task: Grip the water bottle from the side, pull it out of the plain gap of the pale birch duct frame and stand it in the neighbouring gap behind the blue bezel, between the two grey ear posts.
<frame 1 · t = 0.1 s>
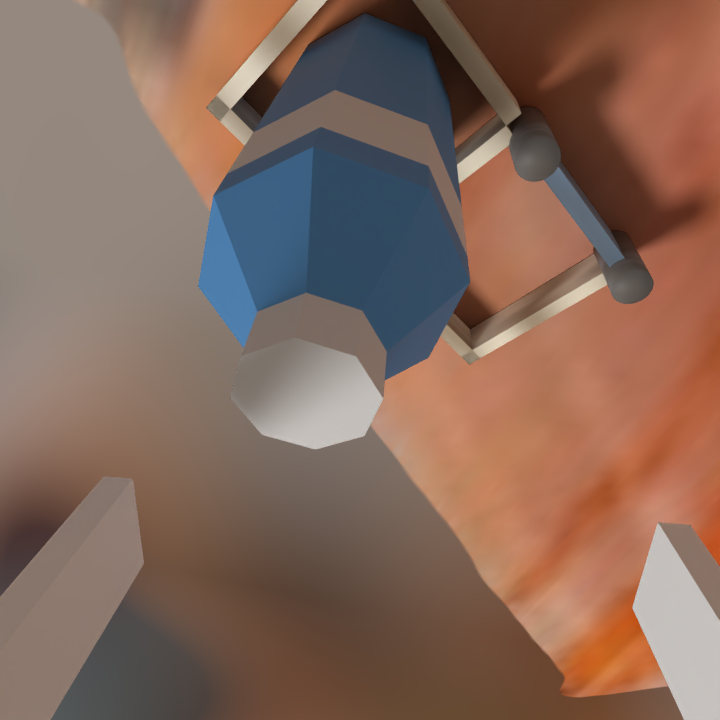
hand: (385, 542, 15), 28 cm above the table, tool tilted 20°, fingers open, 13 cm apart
duct frame: (433, 176, 37), on the table
water bottle: (370, 102, 34), resting in duct frame
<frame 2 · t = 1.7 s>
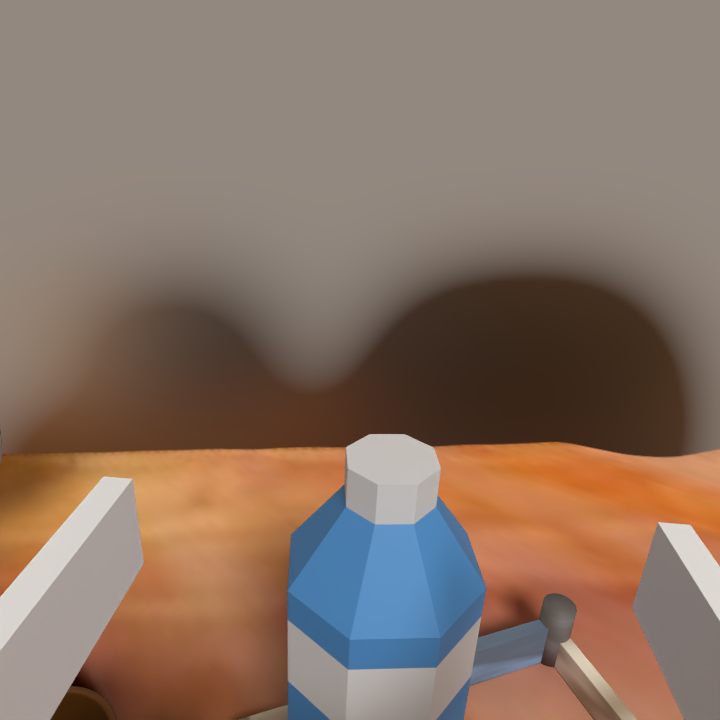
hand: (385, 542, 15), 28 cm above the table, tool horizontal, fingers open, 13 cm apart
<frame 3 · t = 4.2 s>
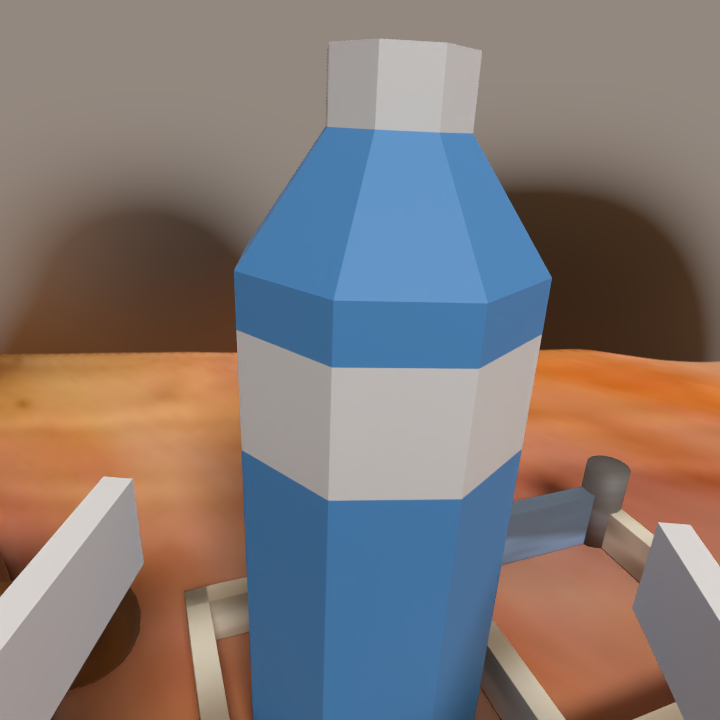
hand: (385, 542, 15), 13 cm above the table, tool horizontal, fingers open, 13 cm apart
duct frame: (480, 668, 27), on the table
water bottle: (360, 712, 25), resting in duct frame
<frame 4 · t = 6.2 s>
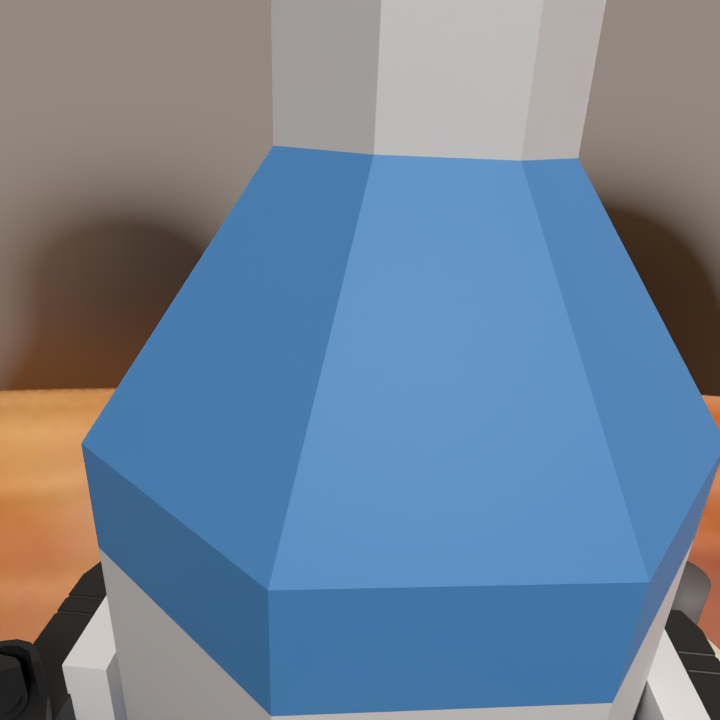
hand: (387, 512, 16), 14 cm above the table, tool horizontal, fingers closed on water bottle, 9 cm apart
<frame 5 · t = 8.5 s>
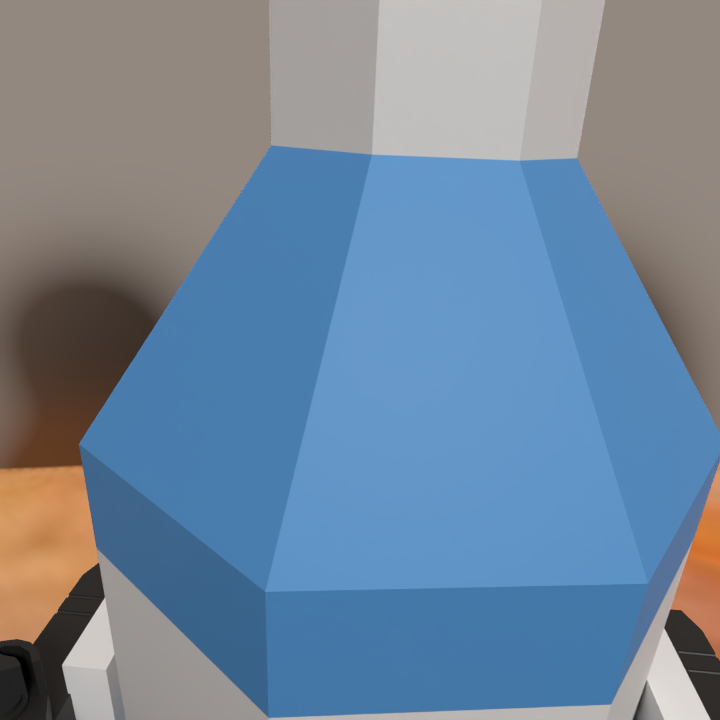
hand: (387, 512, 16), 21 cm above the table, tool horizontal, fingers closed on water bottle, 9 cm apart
when the fingers open (15 cm above the table, at t = 11.0 s): water bottle drops 1 cm, resting in duct frame.
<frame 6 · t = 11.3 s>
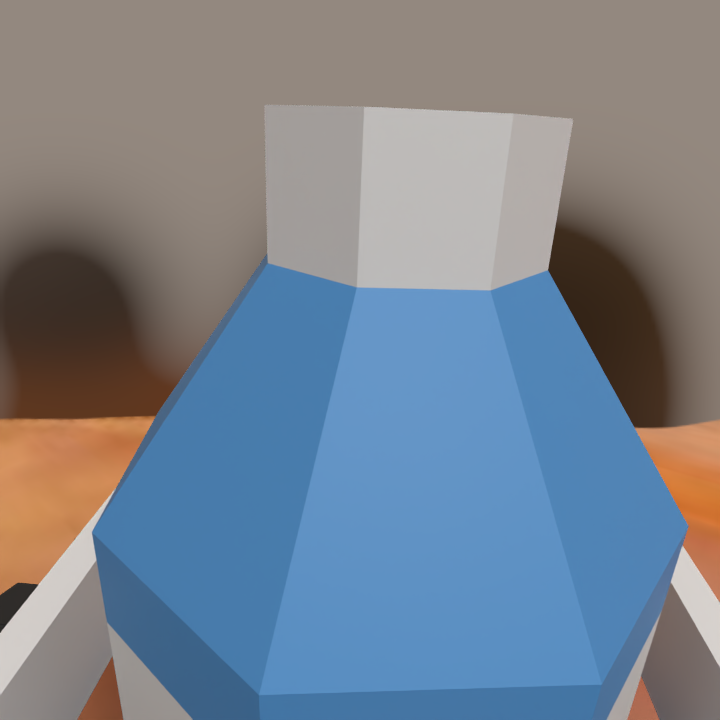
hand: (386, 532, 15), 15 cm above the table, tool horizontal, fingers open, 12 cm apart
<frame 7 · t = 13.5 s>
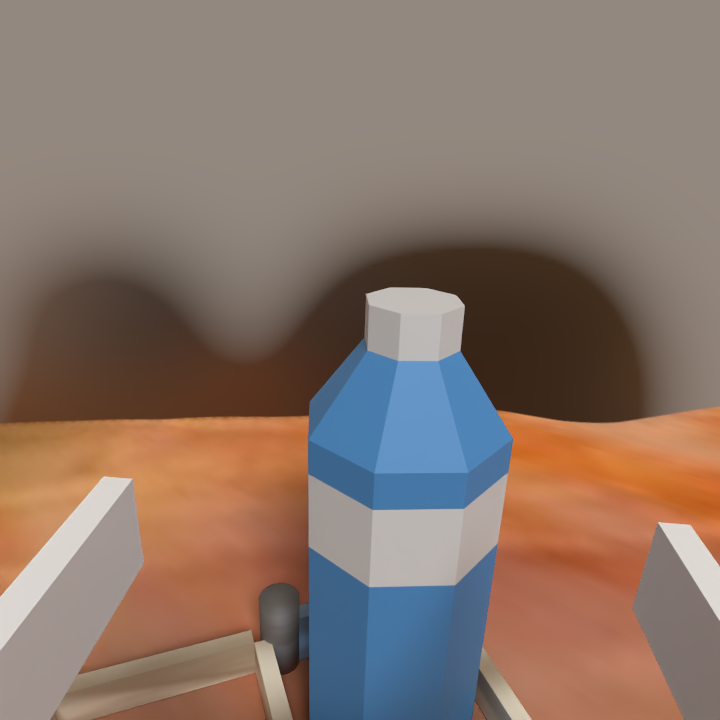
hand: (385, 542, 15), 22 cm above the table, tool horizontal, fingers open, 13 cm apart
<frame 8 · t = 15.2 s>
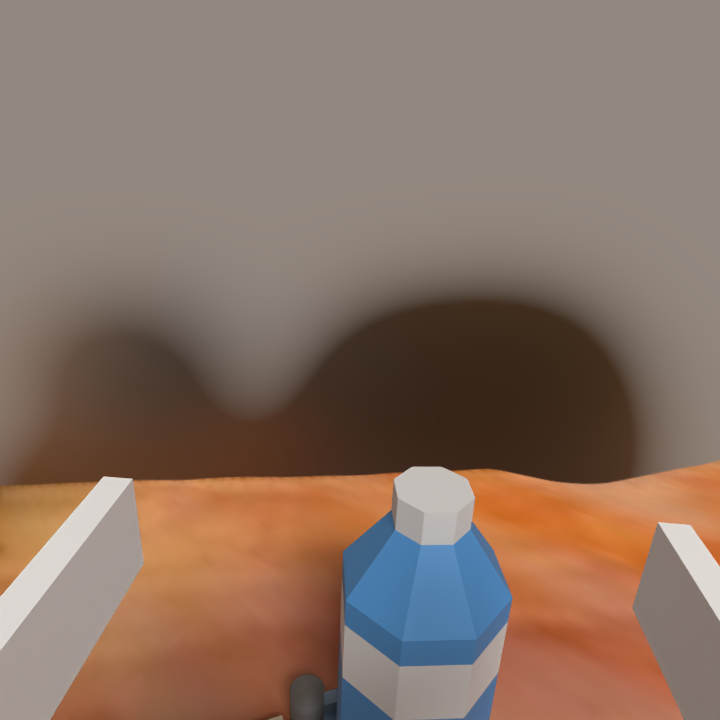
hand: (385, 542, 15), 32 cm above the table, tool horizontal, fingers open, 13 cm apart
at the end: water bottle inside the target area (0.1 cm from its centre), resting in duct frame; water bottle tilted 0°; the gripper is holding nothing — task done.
